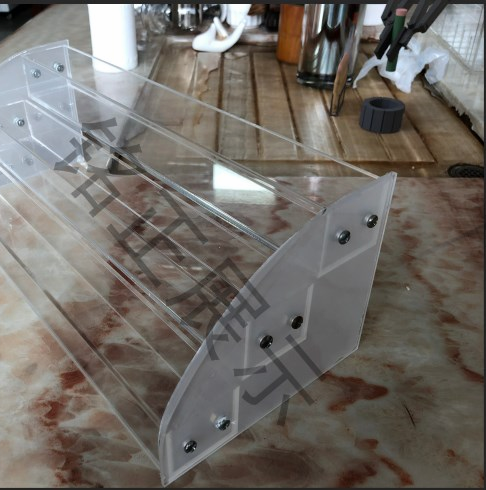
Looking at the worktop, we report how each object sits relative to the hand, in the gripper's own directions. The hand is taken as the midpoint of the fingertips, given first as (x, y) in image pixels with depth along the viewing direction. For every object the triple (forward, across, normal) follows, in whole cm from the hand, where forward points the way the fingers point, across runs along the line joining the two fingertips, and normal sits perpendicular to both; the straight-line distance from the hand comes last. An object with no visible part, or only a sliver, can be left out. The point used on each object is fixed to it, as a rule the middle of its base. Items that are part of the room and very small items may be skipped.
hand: (383, 57), depth 119 cm
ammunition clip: (+7, +13, -16) cm, 22 cm away
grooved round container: (+8, 0, -14) cm, 16 cm away
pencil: (0, 0, -5) cm, 5 cm away
